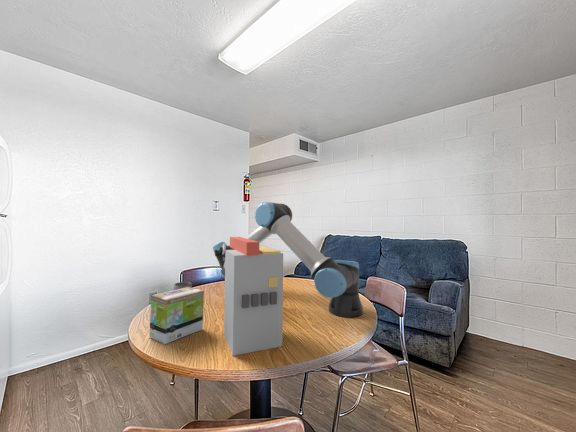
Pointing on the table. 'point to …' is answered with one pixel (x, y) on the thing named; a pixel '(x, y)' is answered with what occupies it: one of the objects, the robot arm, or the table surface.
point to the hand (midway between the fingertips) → (240, 245)
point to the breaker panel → (253, 301)
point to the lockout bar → (244, 245)
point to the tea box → (176, 314)
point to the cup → (182, 285)
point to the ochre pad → (268, 250)
